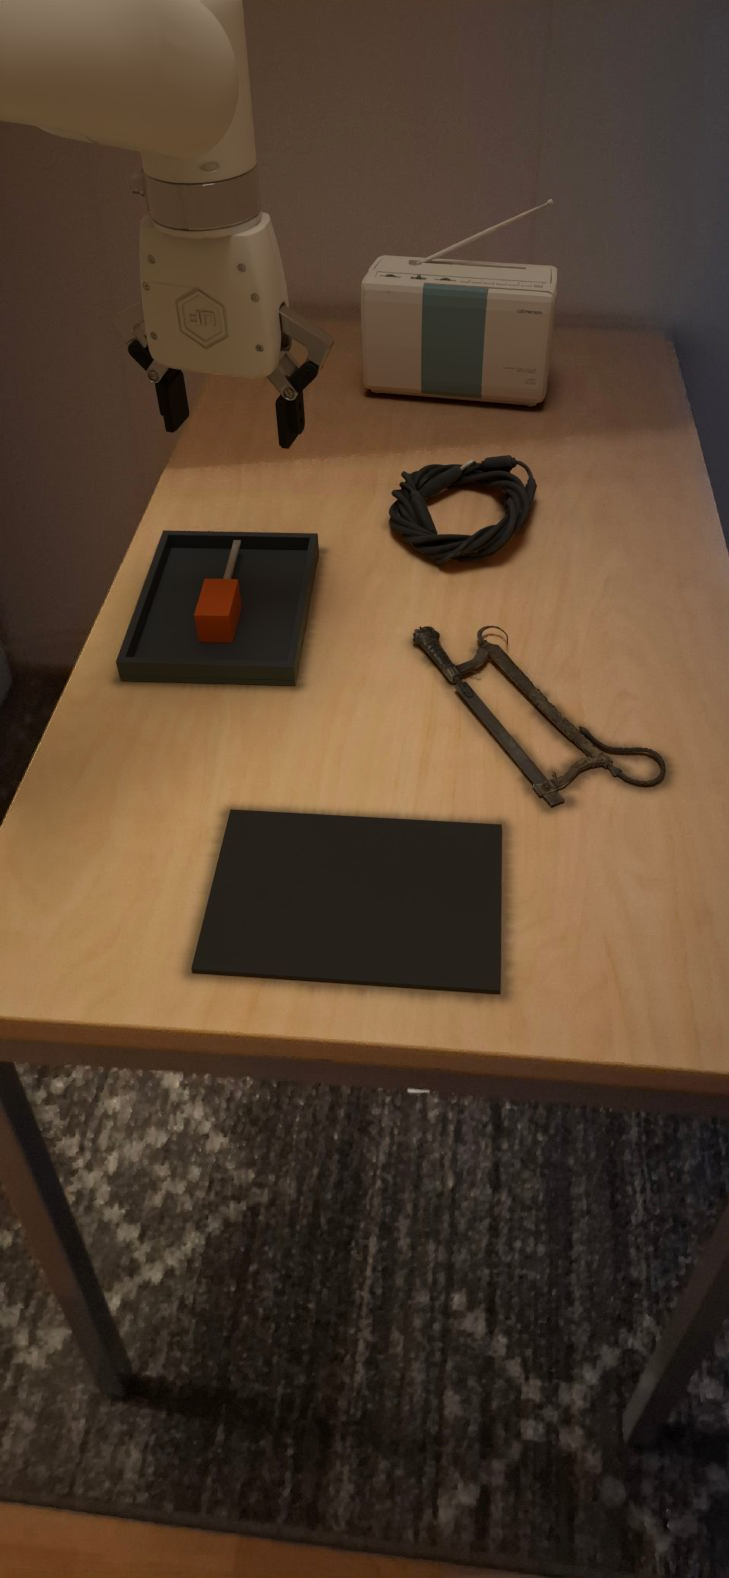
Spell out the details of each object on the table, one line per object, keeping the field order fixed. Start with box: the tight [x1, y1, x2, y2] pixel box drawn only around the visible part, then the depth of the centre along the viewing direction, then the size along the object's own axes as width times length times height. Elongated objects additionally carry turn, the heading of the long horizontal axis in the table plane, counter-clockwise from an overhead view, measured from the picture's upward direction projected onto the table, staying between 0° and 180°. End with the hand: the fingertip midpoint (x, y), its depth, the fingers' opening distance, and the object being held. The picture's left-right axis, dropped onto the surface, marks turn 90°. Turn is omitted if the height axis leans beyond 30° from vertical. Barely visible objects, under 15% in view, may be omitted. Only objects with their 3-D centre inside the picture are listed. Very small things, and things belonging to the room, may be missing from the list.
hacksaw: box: [412, 625, 667, 806], centre depth 84 cm, size 24×10×2 cm, turn 26°
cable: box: [388, 454, 538, 565], centre depth 101 cm, size 17×14×4 cm
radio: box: [360, 198, 558, 408], centre depth 114 cm, size 21×8×20 cm, turn 77°
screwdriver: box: [194, 540, 242, 643], centre depth 93 cm, size 13×3×3 cm, turn 176°
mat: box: [190, 808, 503, 994], centre depth 72 cm, size 20×14×1 cm
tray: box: [115, 529, 320, 687], centre depth 93 cm, size 19×15×2 cm
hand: (233, 432), depth 83 cm, fingers open, 9 cm apart
